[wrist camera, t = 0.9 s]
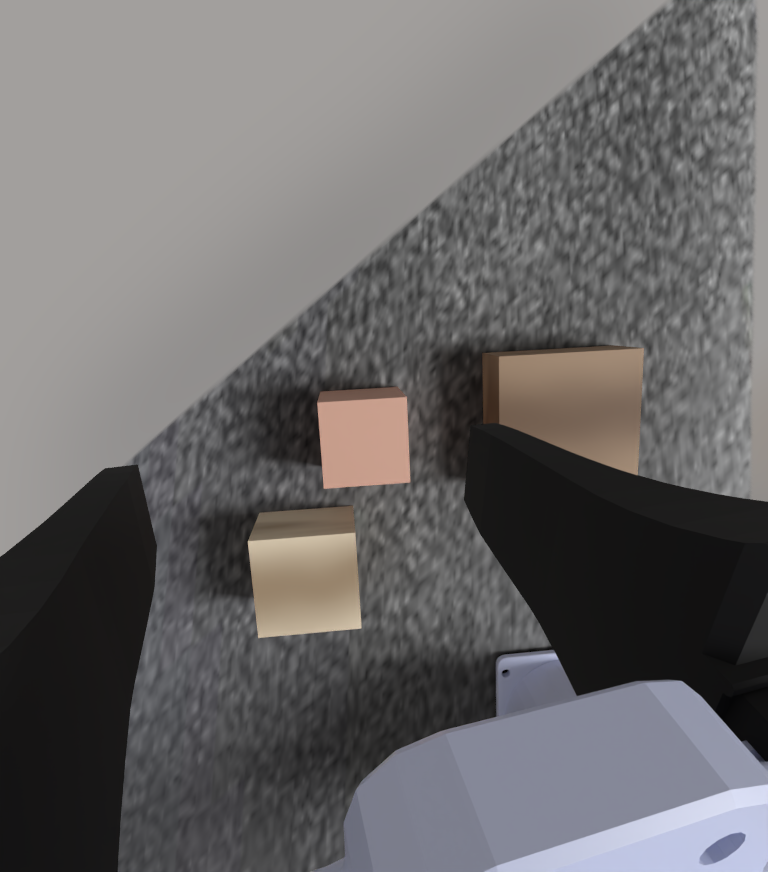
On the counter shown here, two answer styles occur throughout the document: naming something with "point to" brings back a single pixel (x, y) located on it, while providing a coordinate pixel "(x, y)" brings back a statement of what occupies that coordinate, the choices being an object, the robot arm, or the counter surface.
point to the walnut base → (570, 399)
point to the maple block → (305, 571)
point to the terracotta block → (364, 437)
